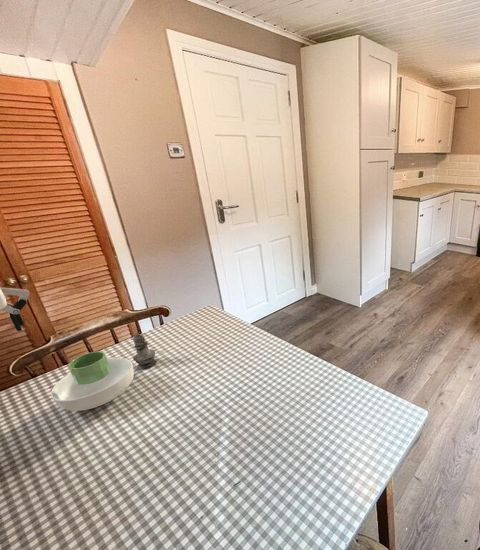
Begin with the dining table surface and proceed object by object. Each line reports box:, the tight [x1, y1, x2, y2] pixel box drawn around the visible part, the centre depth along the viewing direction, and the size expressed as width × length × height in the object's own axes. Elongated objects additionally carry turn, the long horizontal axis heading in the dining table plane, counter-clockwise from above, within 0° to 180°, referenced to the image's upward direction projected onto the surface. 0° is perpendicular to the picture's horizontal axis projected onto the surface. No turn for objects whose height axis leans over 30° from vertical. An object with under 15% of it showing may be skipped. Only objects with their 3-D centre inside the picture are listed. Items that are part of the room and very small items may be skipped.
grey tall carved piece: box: [132, 332, 158, 371], centre depth 95 cm, size 6×6×12 cm
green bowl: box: [67, 350, 111, 385], centre depth 81 cm, size 7×7×6 cm
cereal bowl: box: [50, 357, 135, 412], centre depth 83 cm, size 17×17×7 cm
